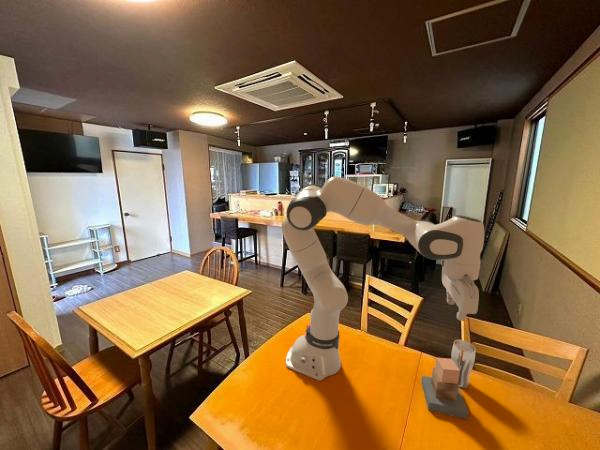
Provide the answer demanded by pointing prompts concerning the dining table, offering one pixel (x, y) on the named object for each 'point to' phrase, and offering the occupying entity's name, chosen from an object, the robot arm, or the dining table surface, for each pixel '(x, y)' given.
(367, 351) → the dining table surface
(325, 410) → the dining table surface
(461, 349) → the beer glass
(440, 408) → the plinth
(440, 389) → the walnut cube
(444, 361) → the terracotta cube
